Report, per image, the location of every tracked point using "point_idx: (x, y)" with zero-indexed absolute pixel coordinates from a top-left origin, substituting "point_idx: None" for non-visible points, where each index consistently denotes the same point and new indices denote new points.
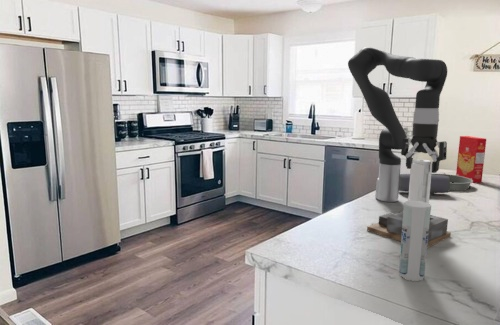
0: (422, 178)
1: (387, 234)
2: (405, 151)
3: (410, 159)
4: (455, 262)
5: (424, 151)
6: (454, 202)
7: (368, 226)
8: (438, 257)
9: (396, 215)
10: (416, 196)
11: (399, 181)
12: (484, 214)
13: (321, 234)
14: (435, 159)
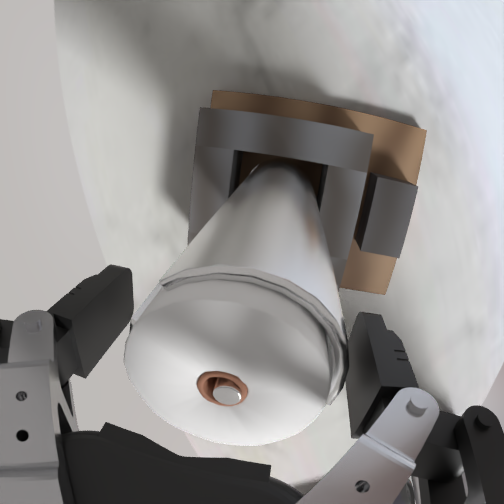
0: (209, 222)
1: (347, 109)
2: (451, 478)
3: (368, 391)
4: (128, 73)
5: (120, 452)
6: (285, 478)
7: (423, 132)
8: (166, 67)
9: (352, 175)
10: (261, 182)
11: (410, 495)
12: (209, 445)
13: (486, 22)
14: (23, 318)
